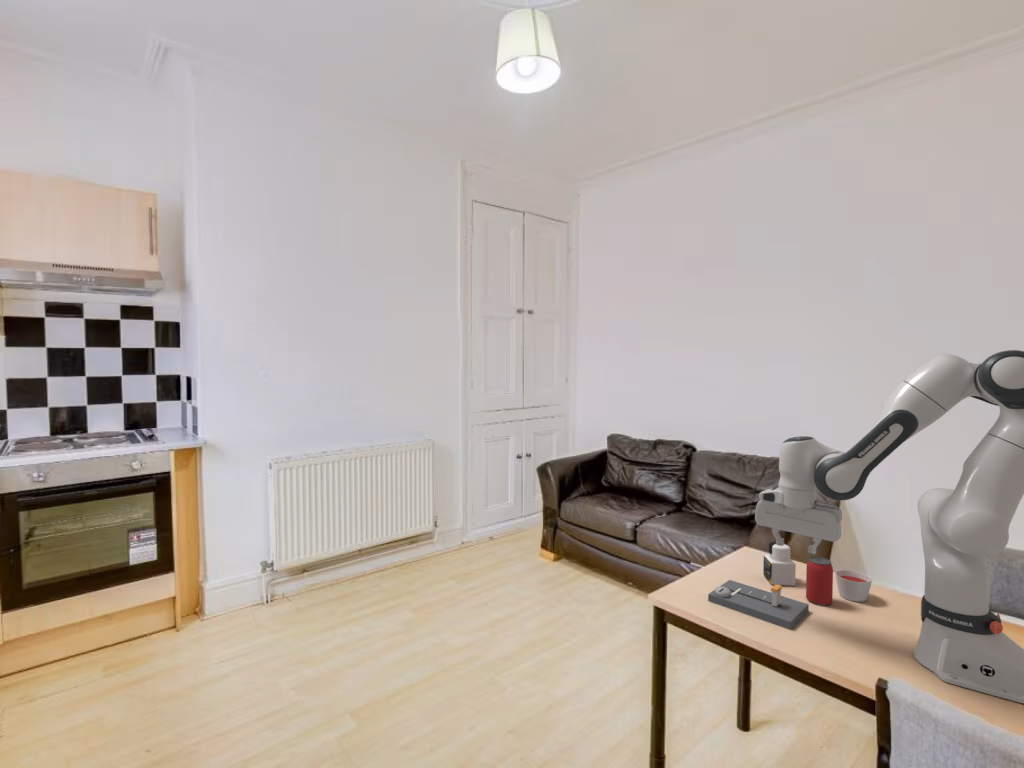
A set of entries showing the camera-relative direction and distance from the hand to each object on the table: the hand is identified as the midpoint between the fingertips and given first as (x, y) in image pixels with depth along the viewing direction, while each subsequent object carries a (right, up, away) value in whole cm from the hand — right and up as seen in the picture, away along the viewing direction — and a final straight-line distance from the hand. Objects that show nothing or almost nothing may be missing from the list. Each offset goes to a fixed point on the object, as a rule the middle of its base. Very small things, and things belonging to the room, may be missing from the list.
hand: (795, 549), depth 136 cm
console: (-6, -19, +9) cm, 22 cm away
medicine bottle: (+9, -18, +25) cm, 32 cm away
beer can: (+13, -19, +12) cm, 26 cm away
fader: (-3, -17, +5) cm, 18 cm away
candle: (+25, -19, +14) cm, 34 cm away
